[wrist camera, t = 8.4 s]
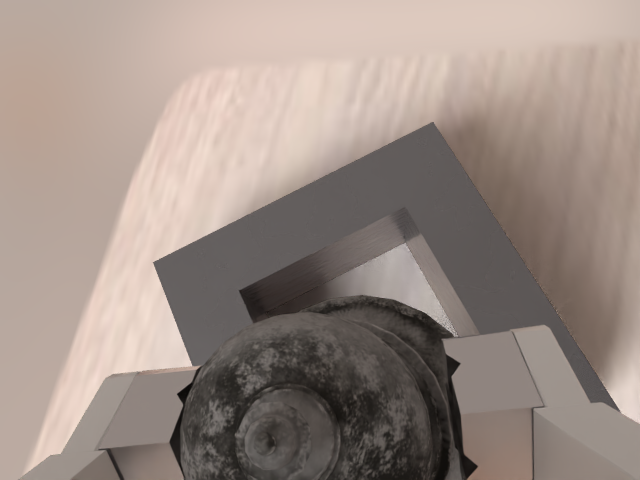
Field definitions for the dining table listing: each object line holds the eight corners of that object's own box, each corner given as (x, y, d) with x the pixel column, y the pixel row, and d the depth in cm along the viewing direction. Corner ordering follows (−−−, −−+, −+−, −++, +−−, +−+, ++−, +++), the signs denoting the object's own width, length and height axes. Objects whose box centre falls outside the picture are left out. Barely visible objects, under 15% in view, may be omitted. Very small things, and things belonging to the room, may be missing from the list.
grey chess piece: (337, 282, 17) (192, 32, 6) (516, 389, 16) (794, 324, 4) (230, 454, 16) (-195, 547, 5) (408, 587, 15) (388, 1202, 3)
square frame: (428, 169, 30) (433, 122, 25) (582, 418, 25) (624, 417, 20) (193, 287, 30) (153, 262, 25) (303, 561, 25) (279, 593, 20)
